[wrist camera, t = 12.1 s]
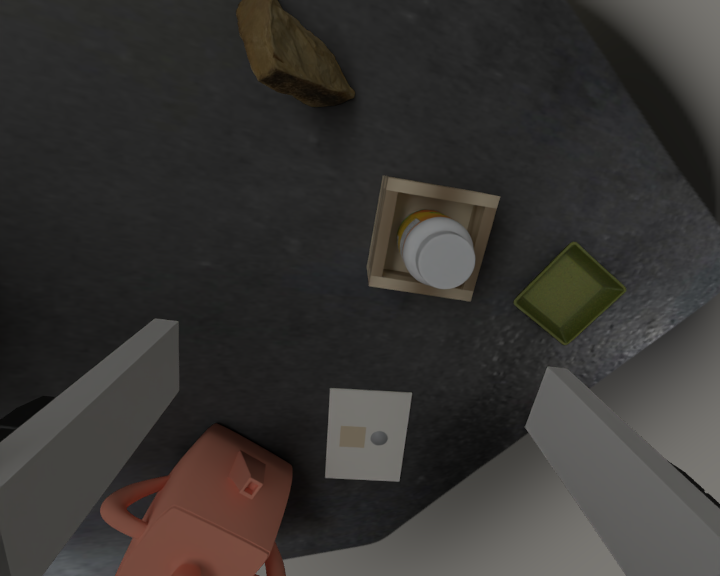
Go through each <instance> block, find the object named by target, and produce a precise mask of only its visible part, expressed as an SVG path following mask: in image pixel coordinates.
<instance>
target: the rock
mask: <svg viewBox="0 0 720 576" xmlns="http://www.w3.org/2000/svg"><path fill="white" fill-rule="evenodd" d="M236 16H237V19H238V26H239V33H240V37H241V38H242V40H243V41H244V46H245V49H246V52H247V56H248V59H249V62H250V65H251V69H252V71H253V72H254V74H255V76H256V77H257V80H258V81H259V82H261V83H262V84H265V85H266V86H268V87H270V88H271V89H273V90H275V91H277V92H280V93H283V94H288V95H293V97H295V98H296V99H298V100H300V101H301V102H302V103H304V104H306V105H308V106H311V107H321V106H334V105H338V104H341V103H343V102H345V101H347V100H349V99H351V98H354V96H355V91H354V90H353V89H352V88H351V87H350V86H349V85H348V83H347V80H346V79H345V77H344V75H343V73H342V72H341V69H340V66H339V65H338V63H337V61H336V60H335V56H334V55H333V54H332V53H331V52H330V50H329V49H328V48H327V47H326V46H325V44H324V43H323V42H322V41H321V40H320V39H319V38H317V37H316V36H314V35H313V33H311V32H310V31H307V30H306V29H305V28H304V27H303V26H302V25H301V24H300V22H299V21H298V20H297V19H295V18H294V17H293V16H291V15H290V14H288V13H287V12H285V11H284V10H283V9H282V7H281V5H280V3H279V2H278V0H242V1H241V2H240V3H239V4H238V8H237V10H236Z"/></svg>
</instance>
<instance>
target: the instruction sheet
mask: <svg viewBox="0 0 720 576" xmlns="http://www.w3.org/2000/svg"><path fill="white" fill-rule="evenodd" d="M411 397H412V392H394V391H377V390H359V389H342V388H330V400H329V418H328V435H327V453H326V471H325V478H338V479H359V480H379V481H400V474H401V467H402V460H403V453H404V446H405V439H406V432H407V425H408V418H409V411H410V404H411Z"/></svg>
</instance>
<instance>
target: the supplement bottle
mask: <svg viewBox="0 0 720 576" xmlns="http://www.w3.org/2000/svg"><path fill="white" fill-rule="evenodd" d="M396 243H397V248H398V251H399V253H400V255H401V257H402V259H403V262H404V264H405V266H406V268H407V270H408V271H409V273H410V274H411V275H412V276H413V277H414V278H415V279H416V280H417V281H419V282H421V283H423V284H425V285H429V286H432V287H435V288H438V289H452V288H455V287H457V286H459V285H461V284H463V283H464V282H465V281H466V280H467V279H468V278H469V277H470V275H471V274H472V272H473V270H474V267H475V253H474V248H473V242H472V239H471V236H470V234H469V233H468V231H467V230H466V229H465V228H464V227H463V226H462V225H461V224H460V223H458V222H457V221H455V220H453V219H451V218H450V217H448V216H446V215H444V214H442V213H440V212H438V211H435V210H431V209H422V210H418V211H415V212H413V213H411V214H410V215H408V216H407V217H406V218H405V219H404V220H403V221H402V222H401V224H400V226H399V228H398V231H397V236H396Z"/></svg>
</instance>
